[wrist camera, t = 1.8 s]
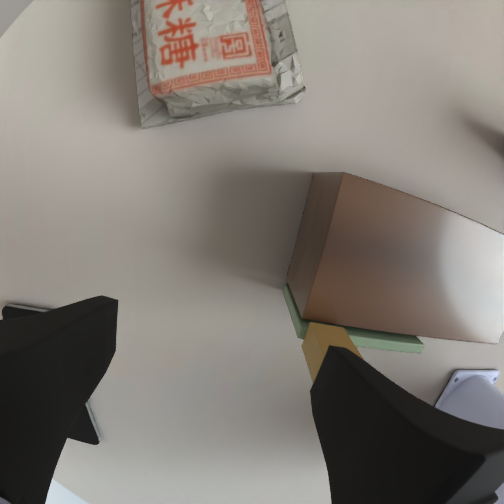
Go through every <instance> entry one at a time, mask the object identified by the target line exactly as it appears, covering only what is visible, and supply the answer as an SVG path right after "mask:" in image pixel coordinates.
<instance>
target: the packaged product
mask: <svg viewBox="0 0 504 504" xmlns="http://www.w3.org/2000/svg"><path fill="white" fill-rule="evenodd" d="M131 20H132V25H133V28H134V32H133V34H132V36H133V54H134V63H135V73H136V86H137V96H138V105H139V114H140V121H141V126H142V129H146V128H150V127H154V126H159V125H164V124H169V123H174V122H179V121H184V120H190V119H195V118H200V117H204V116H209V115H213V114H217V113H222V112H226V111H232V110H239V109H246V108H254V107H262V106H271V105H281V104H292V103H297V102H299V101H300V99H301V97H302V96H303V94H304V92H305V90H306V89H305V85H304V81H303V77H302V71H301V67H300V62H299V57H298V53H297V49H296V45H295V40H294V36H293V32H292V28H291V24H290V20H289V15H288V12H287V8H286V3H285V0H131Z"/></svg>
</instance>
